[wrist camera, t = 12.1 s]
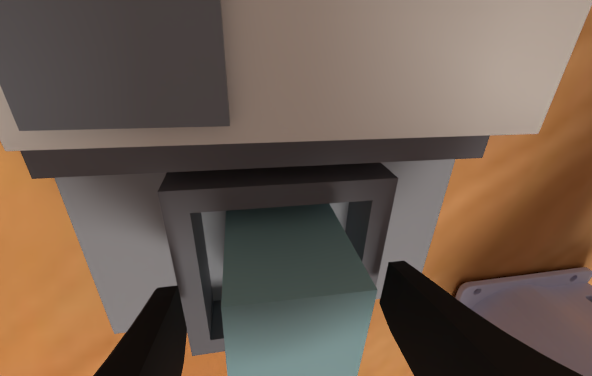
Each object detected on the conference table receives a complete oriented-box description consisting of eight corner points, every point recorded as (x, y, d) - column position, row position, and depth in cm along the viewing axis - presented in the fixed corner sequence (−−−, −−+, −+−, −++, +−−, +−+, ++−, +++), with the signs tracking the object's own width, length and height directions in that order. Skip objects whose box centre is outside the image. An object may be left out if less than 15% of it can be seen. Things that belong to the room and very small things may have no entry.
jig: (516, -131, 9) (630, -198, 6) (406, 280, 17) (437, 325, 14) (-67, -220, 6) (-271, -391, 4) (121, 315, 14) (96, 378, 12)
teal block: (326, 197, 12) (377, 289, 8) (318, 271, 14) (356, 380, 10) (226, 202, 11) (221, 307, 7) (231, 280, 13) (230, 401, 9)
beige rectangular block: (442, -44, 9) (667, -128, 4) (415, 93, 11) (551, 137, 6) (75, -75, 7) (-215, -274, 3) (116, 94, 9) (-9, 158, 4)
